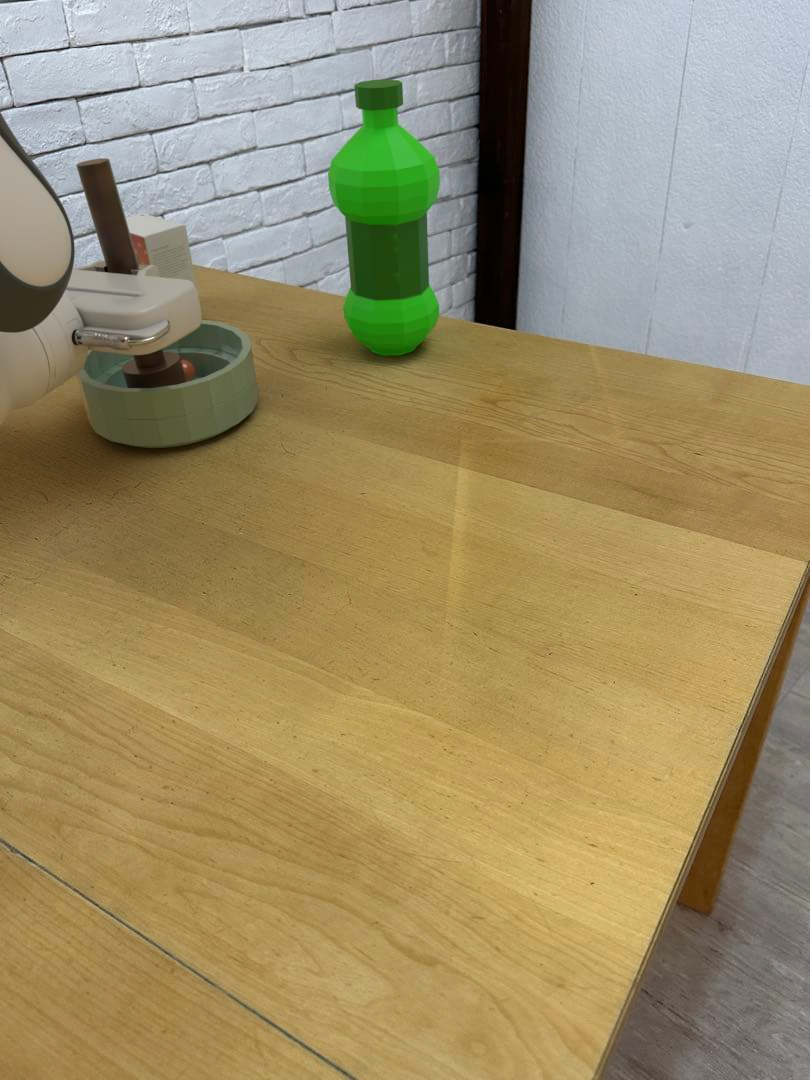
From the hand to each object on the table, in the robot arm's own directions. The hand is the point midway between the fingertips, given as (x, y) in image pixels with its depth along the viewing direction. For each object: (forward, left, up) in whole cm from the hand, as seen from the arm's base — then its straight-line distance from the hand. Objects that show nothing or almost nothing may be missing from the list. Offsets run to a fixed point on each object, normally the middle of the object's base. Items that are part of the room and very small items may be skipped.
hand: (131, 271), depth 78 cm
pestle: (+1, -1, -11) cm, 11 cm away
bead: (+1, +4, -11) cm, 12 cm away
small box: (-8, +24, -14) cm, 29 cm away
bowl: (+1, 0, -13) cm, 14 cm away
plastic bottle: (+20, +15, -14) cm, 29 cm away
